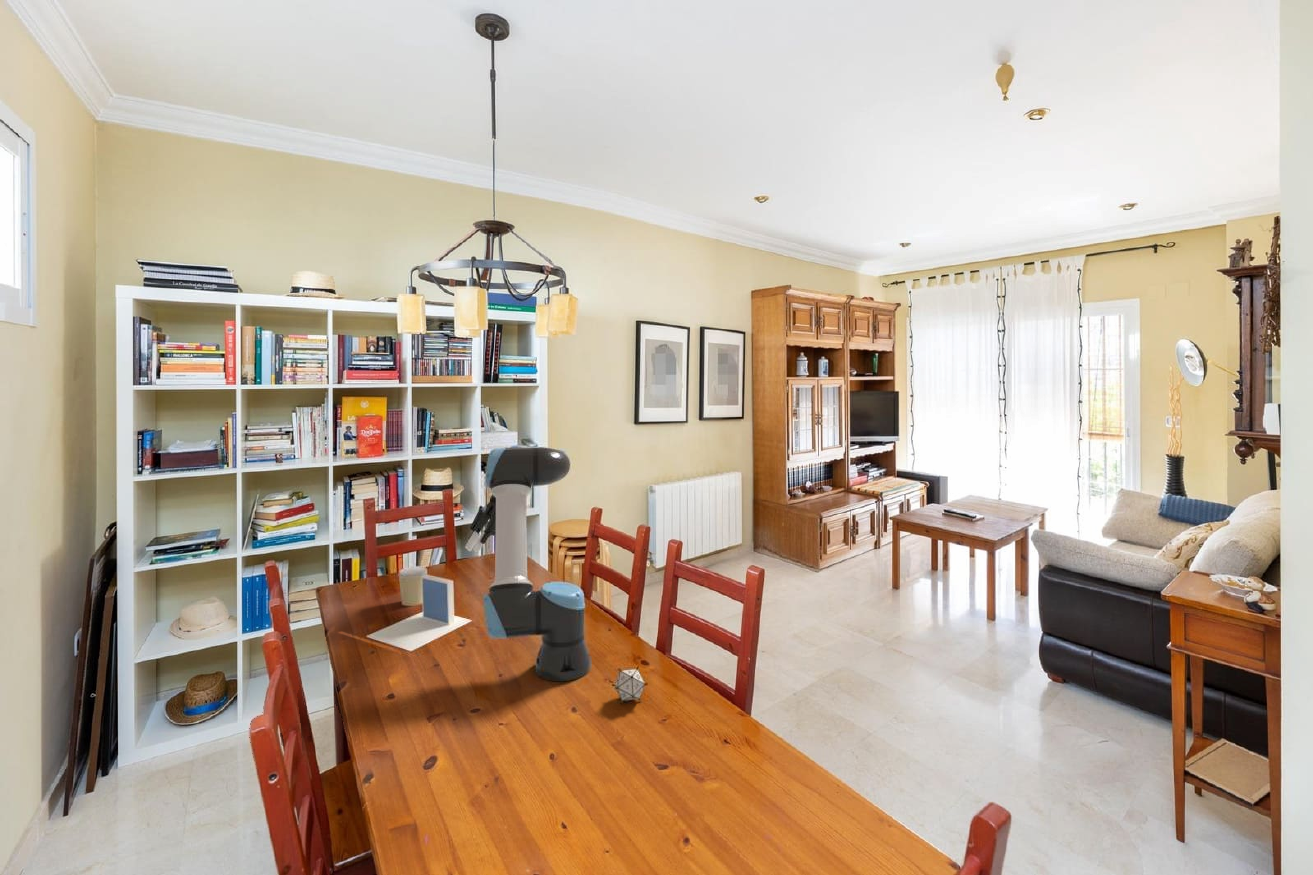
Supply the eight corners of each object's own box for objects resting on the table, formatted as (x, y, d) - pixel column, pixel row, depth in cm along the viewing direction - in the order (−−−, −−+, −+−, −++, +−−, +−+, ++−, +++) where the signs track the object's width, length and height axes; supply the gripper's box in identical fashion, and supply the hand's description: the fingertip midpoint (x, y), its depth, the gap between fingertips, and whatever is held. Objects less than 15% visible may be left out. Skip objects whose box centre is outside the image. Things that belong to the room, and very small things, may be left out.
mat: (472, 622, 187) (472, 620, 187) (411, 653, 165) (411, 651, 165) (429, 610, 196) (429, 608, 196) (365, 638, 174) (365, 636, 174)
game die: (621, 714, 143) (598, 680, 143) (644, 690, 148) (622, 658, 149) (637, 713, 135) (613, 677, 136) (661, 688, 141) (637, 654, 142)
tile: (454, 622, 185) (453, 580, 183) (448, 625, 183) (447, 582, 181) (428, 615, 190) (427, 574, 189) (422, 617, 188) (421, 576, 187)
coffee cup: (433, 601, 203) (432, 569, 202) (410, 610, 196) (409, 576, 194) (417, 596, 208) (416, 564, 207) (393, 604, 201) (392, 571, 199)
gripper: (525, 502, 210) (494, 558, 197) (492, 498, 217) (460, 552, 204) (515, 490, 205) (483, 547, 192) (482, 486, 212) (448, 541, 199)
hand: (471, 549), depth 198 cm, fingers open, 3 cm apart
